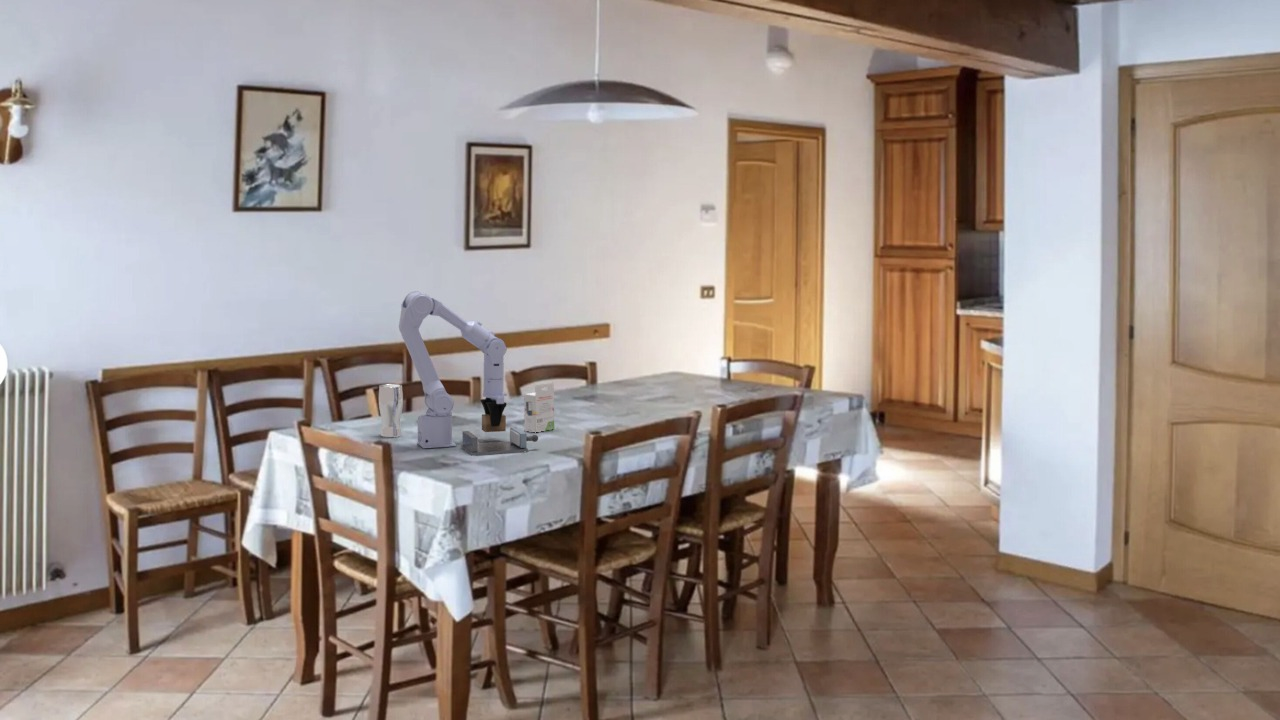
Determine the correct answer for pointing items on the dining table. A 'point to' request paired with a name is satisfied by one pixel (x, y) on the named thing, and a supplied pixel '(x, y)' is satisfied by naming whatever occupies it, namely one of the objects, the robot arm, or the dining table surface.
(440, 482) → the dining table surface
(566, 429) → the dining table surface
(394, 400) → the beer glass
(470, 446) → the vise
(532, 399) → the ink box
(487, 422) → the block
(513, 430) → the slide jaw
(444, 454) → the dining table surface
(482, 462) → the dining table surface
